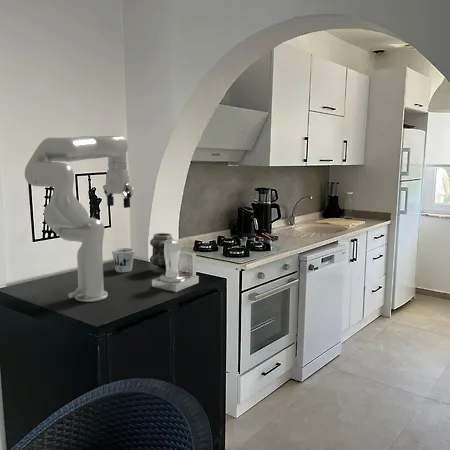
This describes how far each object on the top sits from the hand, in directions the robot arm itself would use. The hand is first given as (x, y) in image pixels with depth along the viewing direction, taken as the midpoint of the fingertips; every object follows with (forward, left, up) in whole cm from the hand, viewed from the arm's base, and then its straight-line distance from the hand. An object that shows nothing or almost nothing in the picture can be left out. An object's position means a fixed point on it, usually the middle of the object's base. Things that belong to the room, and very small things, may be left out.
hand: (118, 206), depth 198 cm
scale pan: (+9, -23, -30) cm, 39 cm away
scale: (+10, -23, -33) cm, 42 cm away
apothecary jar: (+24, -4, -34) cm, 41 cm away
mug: (+16, +13, -34) cm, 39 cm away
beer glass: (+8, -23, -29) cm, 38 cm away
